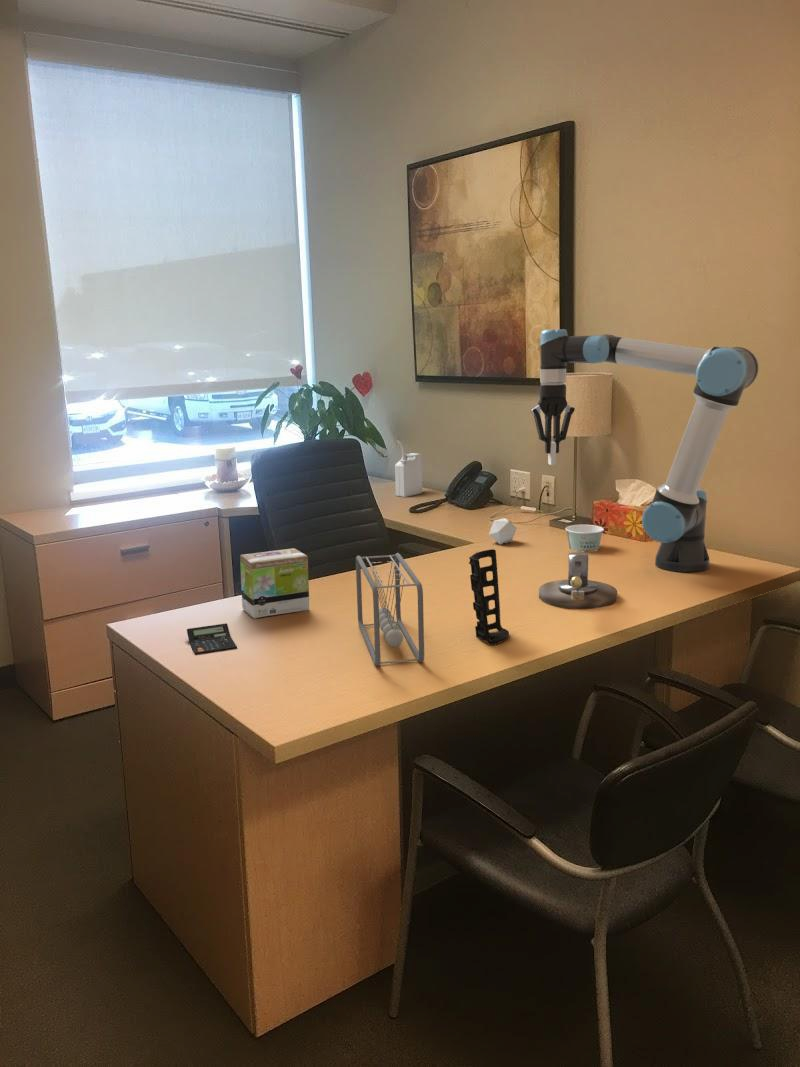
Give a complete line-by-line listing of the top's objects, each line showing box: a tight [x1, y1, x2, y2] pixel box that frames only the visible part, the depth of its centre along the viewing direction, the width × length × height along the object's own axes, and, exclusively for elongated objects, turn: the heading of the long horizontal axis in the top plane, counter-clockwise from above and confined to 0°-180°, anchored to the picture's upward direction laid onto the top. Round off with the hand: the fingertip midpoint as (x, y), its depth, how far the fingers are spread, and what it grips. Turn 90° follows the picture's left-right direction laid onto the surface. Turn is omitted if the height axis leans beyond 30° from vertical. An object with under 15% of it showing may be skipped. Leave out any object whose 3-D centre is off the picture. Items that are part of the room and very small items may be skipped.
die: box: [488, 517, 517, 545], centre depth 290 cm, size 8×9×10 cm
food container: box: [564, 524, 605, 552], centre depth 280 cm, size 12×12×6 cm
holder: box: [468, 548, 510, 646], centre depth 199 cm, size 11×8×20 cm
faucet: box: [558, 551, 598, 594], centre depth 221 cm, size 25×10×9 cm, turn 167°
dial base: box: [538, 579, 618, 610], centre depth 229 cm, size 20×20×4 cm
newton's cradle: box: [355, 552, 425, 667], centre depth 197 cm, size 30×10×18 cm, turn 10°
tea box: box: [239, 547, 310, 619], centre depth 224 cm, size 15×10×15 cm
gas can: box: [394, 439, 423, 498], centre depth 377 cm, size 15×5×25 cm, turn 141°
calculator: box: [186, 622, 238, 656], centre depth 202 cm, size 9×12×3 cm
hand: (551, 464), depth 260 cm, fingers closed
